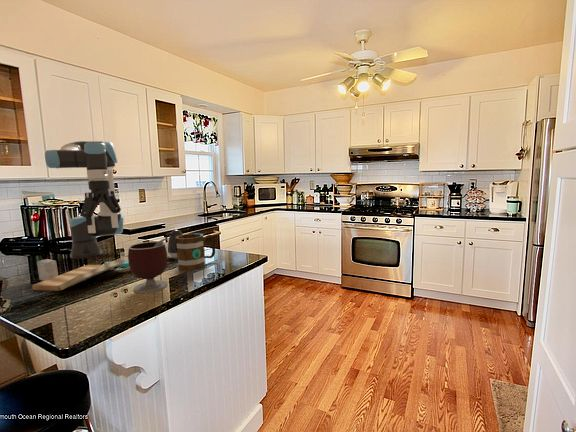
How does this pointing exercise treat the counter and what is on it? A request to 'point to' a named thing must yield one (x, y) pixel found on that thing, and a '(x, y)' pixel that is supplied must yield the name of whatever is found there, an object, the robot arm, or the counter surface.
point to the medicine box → (47, 269)
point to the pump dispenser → (173, 243)
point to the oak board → (62, 278)
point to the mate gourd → (148, 264)
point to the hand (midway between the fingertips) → (104, 230)
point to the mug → (192, 251)
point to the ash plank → (93, 272)
